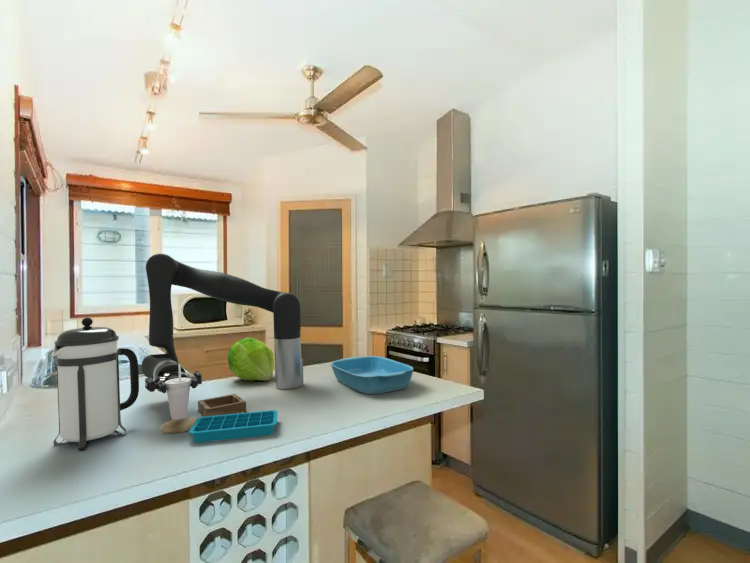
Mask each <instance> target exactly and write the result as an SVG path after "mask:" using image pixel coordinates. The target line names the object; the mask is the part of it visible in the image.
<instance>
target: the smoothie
mask: <svg viewBox="0 0 750 563" xmlns="http://www.w3.org/2000/svg"><path fill="white" fill-rule="evenodd" d="M181 367H182V366H181V363H179V364H178V370H179V378H175V379H170V380H167V381H165V384H166V389H167V390H166V394H167V401H168V406H169V411H170V412H169V413H170V418H171V420H179V419H183V418H187V417H188V410H189V408H188V407H189V402H190V401H189V398H190V390H191V386H190V384H191V383H192V382H191V379H190V378H181Z"/></svg>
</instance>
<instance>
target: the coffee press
mask: <svg viewBox="0 0 750 563" xmlns="http://www.w3.org/2000/svg"><path fill="white" fill-rule="evenodd" d="M93 322H94V321H93V319H92V318H91V317H83V319H82V320H81V321H80V323H81V325H82V326H83V327H80V328H73V329H68V330H65V331H63V332H61V333H60V334H59V335H58V336H57V338H56V340H55V341H54V347H53V349H52V352H51V356H52V357H55V356H56V357H55V363H56V364H55V365H56V379H57V381H56V382H57V407H58V408H57V411H58V433H57V434H58V435H57V436H56V437H55V438H54V440H53V445H54V446H59V445H61V444H63V442H64V441H65V442H70V443H72V442H74V443H75V442H76V443H78V446H77V448H78V451H79V452H80V451H85V450H87V448H88V444H89V442H90V441H92V440H96V439H100V438H104V437H105V436H106V437H107V436H108V435H110V434H112V433H113V434H117V435H118V436H120V437H123V436H125V435H126V434H127V430H128V429H127V428H125V427H124V426H123V424H122V420H121V418H122V417H121V414H122V413H121V411H123V410H126V409H127V408H128V409H129V408H130V407H131V406H133V405H134V404H135V402H136V400H138V396H139V392H140V378H139V374H140V373H139V361H138V357H137V355H136V353H135V351H134V350H131V349H130V348H125V347H123V348H122V347H121V348H118V341H119V335H117V333H116V331H115V330H114V329H113V328H110V327H105V326H92V324H93ZM119 356H125V357H127V358H128V361H129V373H130V374H129V376H130V378H129V379H130V381H129V382H130V394H129V396H128V398H127V399H126V400H125V401H123V402H121V395H120V366H119V365H120V364H119ZM119 427H120V428H121V429H122V431H124V432H123V433H122V432H120V431H118V429H119ZM59 437H60V438H62V441H60V442H58V441H57V439H58V438H59Z"/></svg>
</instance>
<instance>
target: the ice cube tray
mask: <svg viewBox="0 0 750 563" xmlns="http://www.w3.org/2000/svg"><path fill="white" fill-rule="evenodd" d="M277 422H278V410H276V409H273V410H261V411H249V412H245V413H237V414H227V415H216V416H205V417H203V416H200V417H198V418H197V420H196V421H195V423H194V424H193V426H192V428H191V429H190V431H188V434H189V435H192V439H193V442H194V443H206V442H215V441H216V440H217V441H226V440H234V439H235V440H236V439H245V438H252V437H261V436H262V437H264V436H270V435H273V434H274V428H275V427H274V426H276V425H277V424H278V423H277ZM217 441H216V442H217Z"/></svg>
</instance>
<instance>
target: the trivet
mask: <svg viewBox="0 0 750 563" xmlns="http://www.w3.org/2000/svg"><path fill="white" fill-rule="evenodd" d="M197 419H198V418H197V417H188V416H187V417H186V418H183V419H179V420H173V419H171V420H167V421H165V422H163V423H162V424H161V425H160V431H161V433H163V434H167V435H168V434H169V435H170V434H173V435H175V434H181V433H186V432H189V431H190V429H191V428H192V426H193V424H194V423H195V421H196V420H197Z"/></svg>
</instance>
